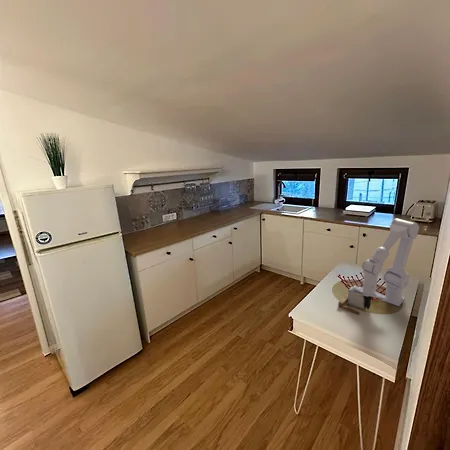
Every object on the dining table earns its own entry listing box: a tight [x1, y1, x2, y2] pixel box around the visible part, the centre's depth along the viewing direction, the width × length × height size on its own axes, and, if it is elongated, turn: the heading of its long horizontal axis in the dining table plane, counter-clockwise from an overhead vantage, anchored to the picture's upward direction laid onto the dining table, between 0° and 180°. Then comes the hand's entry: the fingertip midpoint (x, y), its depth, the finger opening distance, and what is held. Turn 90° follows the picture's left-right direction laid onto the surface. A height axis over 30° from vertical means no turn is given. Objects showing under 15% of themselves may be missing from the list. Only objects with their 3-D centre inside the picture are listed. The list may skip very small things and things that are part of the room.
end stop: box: [337, 292, 360, 316], centre depth 133 cm, size 14×10×3 cm
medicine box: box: [347, 286, 365, 310], centre depth 132 cm, size 8×4×9 cm, turn 47°
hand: (366, 307), depth 128 cm, fingers closed
